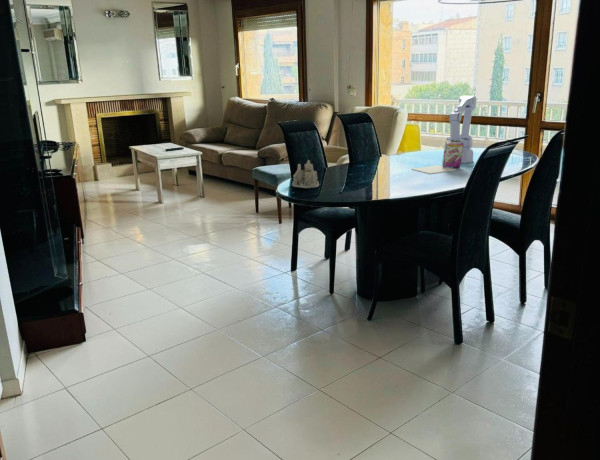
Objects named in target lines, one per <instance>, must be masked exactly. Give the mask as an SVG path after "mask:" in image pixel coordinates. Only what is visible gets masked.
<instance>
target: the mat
mask: <svg viewBox="0 0 600 460" xmlns="http://www.w3.org/2000/svg"><path fill="white" fill-rule="evenodd" d="M411 170H412V171H416V172H419V173H424V174H428V175H433V174H434V175H435V174H441V173H448V172H453V171H457V169H456V168H453V167H443V165H437V164H436V165H430V166H423V167H416V168H415V167H414V168H411Z"/></svg>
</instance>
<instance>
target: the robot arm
mask: <svg viewBox="0 0 600 460" xmlns="http://www.w3.org/2000/svg"><path fill="white" fill-rule="evenodd" d="M458 102H459V103H458V105H457V106H456V107H455V108H454V110H453V111H452V112H451V113H449V116H448V120H449V125H450V127H449V128H450V131H449V134H450V136H449V137H446V141H451V142H463V144H464V147H463V153H462V159H461V164H468V163H473V162H474V150H473V149H472V147H473V137H472V136H471V135H470V129H471V123H472V122H471V121H472V116H473V111H474V110H475V109H476V106H477V98H476V96H475V95H460V97H459V100H458ZM463 113H464V114H463ZM462 116H463V120H462ZM461 121H463V122H462V128H461V125H460V124H461ZM460 128H461V129H460ZM460 130H461V134H460Z"/></svg>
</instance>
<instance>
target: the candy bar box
mask: <svg viewBox="0 0 600 460" xmlns="http://www.w3.org/2000/svg"><path fill="white" fill-rule="evenodd" d="M444 142H445V143H444V147H443V148H444V150H443V157H442V162H441V164H442V165H441V166H443V167H447V168H460V167H461V164H462V163H461V159H462V153H463V147H464V144H463V142H451V141H449V140H448V141H447V140H446V141H444Z"/></svg>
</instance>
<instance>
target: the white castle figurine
mask: <svg viewBox="0 0 600 460" xmlns="http://www.w3.org/2000/svg"><path fill="white" fill-rule="evenodd" d="M301 165H302V164H301V163H298V164H297V170H296V171H295V173H294V174H293V175H292V176H293V178H292V183H291V186H292V187H294V188H303V189H311V188H312V189H313V188H318V187H319V186H320V182H319V180H318V172H317V170H314V166H313V165H314V164H313V163H311V161H310V160H309V159H308V160H307V162H306V163H304V169H302V166H301Z"/></svg>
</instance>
